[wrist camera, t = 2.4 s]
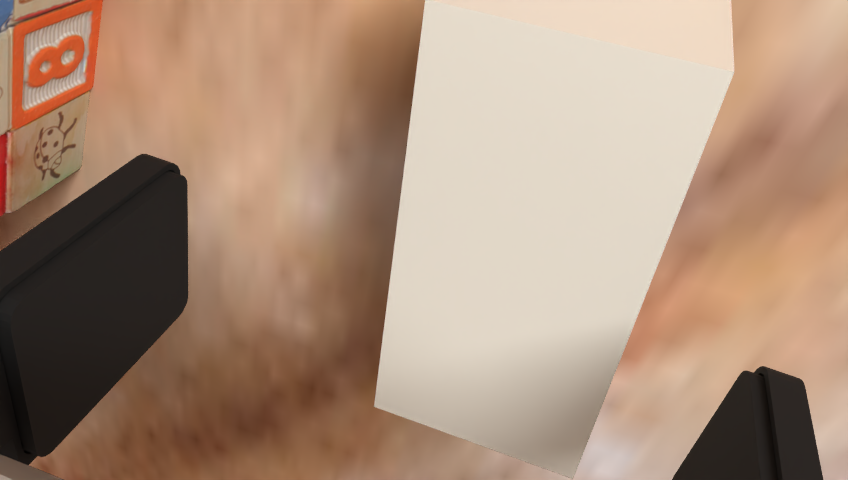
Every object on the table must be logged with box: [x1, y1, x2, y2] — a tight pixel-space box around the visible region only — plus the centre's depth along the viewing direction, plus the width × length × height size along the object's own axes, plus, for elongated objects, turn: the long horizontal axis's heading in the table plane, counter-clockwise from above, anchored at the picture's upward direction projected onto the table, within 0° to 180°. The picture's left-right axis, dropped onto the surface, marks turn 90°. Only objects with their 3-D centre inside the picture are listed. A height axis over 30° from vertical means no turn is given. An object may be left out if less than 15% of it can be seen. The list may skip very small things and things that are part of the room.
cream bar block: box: [374, 0, 734, 479], centre depth 15 cm, size 4×9×5 cm, turn 171°
